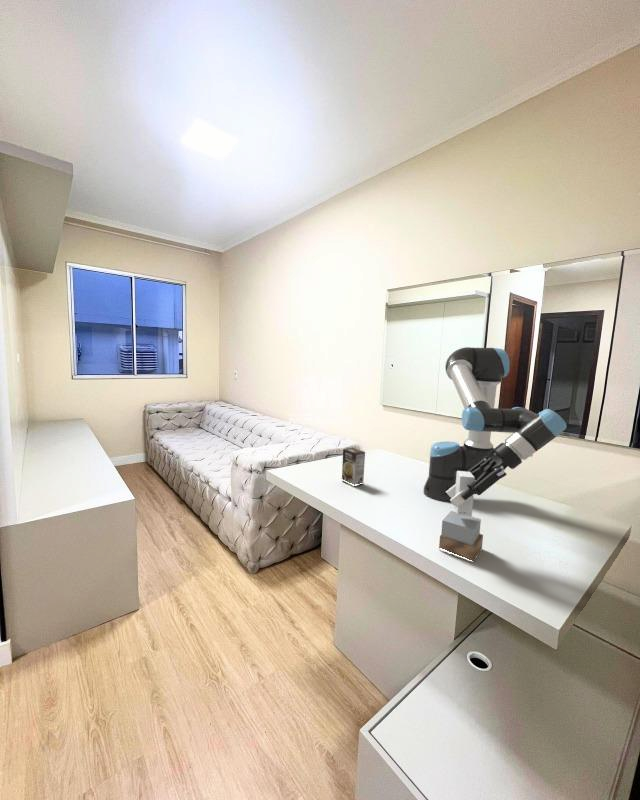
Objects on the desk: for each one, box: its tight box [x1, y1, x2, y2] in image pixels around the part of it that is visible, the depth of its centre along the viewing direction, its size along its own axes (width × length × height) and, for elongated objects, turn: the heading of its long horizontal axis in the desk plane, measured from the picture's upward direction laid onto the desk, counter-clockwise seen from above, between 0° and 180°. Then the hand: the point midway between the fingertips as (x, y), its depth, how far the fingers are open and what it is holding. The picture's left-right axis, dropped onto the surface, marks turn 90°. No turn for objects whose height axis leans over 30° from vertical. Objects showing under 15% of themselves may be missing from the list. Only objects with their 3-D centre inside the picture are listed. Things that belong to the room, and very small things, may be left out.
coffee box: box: [341, 447, 366, 485], centre depth 162 cm, size 9×6×16 cm
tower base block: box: [438, 533, 484, 562], centre depth 106 cm, size 10×10×5 cm
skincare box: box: [453, 471, 476, 517], centre depth 105 cm, size 6×4×12 cm
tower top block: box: [440, 510, 482, 546], centre depth 106 cm, size 9×9×5 cm
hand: (451, 499), depth 105 cm, fingers closed on skincare box, 6 cm apart
